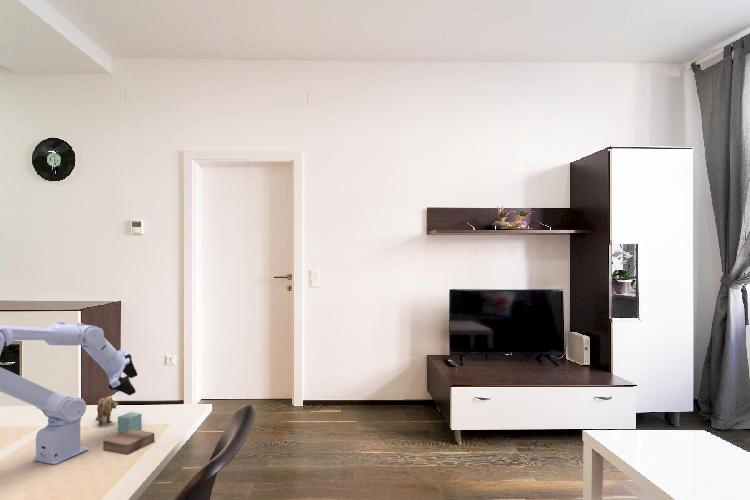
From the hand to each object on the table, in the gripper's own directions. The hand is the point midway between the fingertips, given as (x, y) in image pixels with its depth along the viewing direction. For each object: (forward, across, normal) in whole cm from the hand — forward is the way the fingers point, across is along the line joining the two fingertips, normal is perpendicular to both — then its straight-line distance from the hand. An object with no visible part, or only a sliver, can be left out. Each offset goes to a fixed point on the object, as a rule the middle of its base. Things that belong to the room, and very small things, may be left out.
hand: (133, 384), depth 140 cm
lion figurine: (+11, +3, +16) cm, 20 cm away
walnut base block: (+5, -19, +2) cm, 20 cm away
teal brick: (+9, -8, +6) cm, 14 cm away
